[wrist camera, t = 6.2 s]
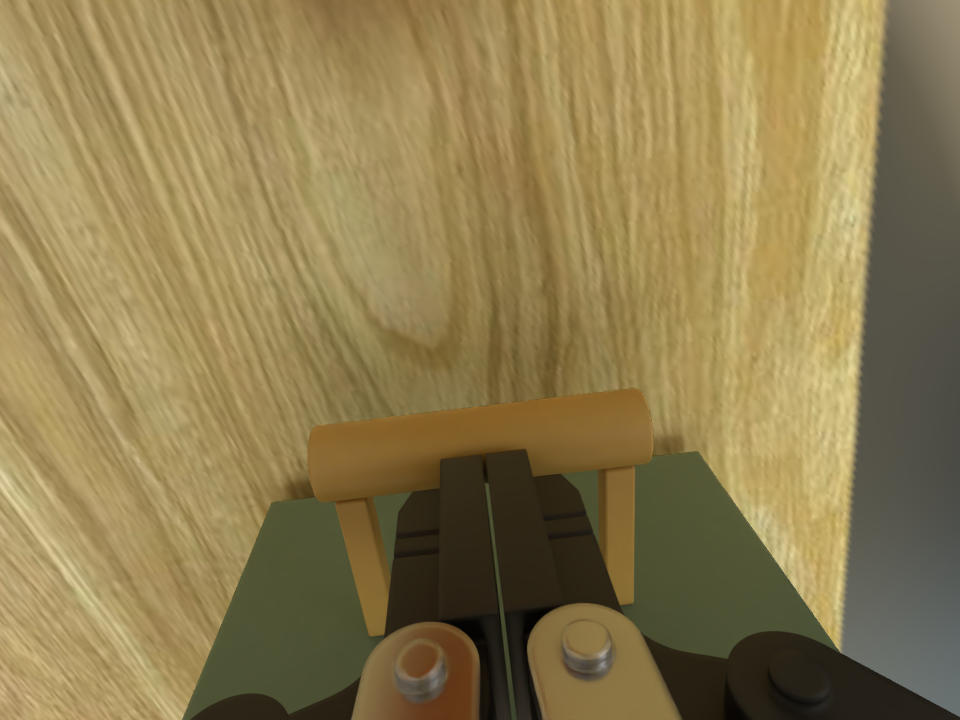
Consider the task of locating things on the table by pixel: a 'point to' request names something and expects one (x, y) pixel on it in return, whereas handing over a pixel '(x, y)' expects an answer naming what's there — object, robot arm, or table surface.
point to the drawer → (416, 466)
